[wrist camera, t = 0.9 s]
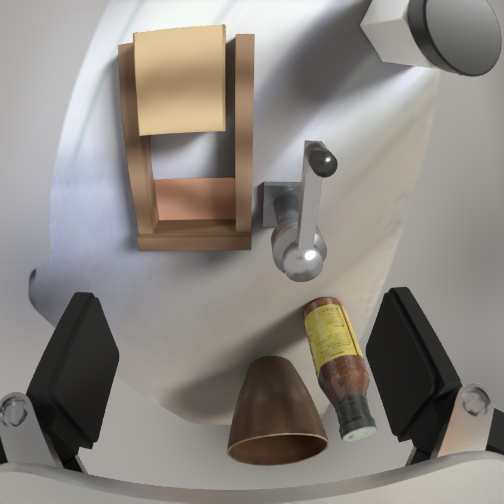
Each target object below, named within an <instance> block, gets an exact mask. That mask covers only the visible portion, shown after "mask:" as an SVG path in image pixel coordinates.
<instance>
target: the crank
mask: <svg viewBox="0 0 504 504" xmlns="http://www.w3.org/2000/svg"><path fill="white" fill-rule="evenodd" d="M337 165H338V164H337V160H336V158H335V157H334V156H333V154H332V153H331V152H330V151H329V150H328V149H327V148H326V146H325V145H324V144H323V142H322V141H306V140H305V145H304V158H303V171H302V182H301V194H300V205H299V215H298V225H297V235H296V242H294V243H292V244H290V245H289V246H288V247H287V248H286V249H285V250H284V252H283V255H282V261H283V266H284V271H285V274H286V275H287V277H288V278H290V279H291V280H293V281H296V282H306V281H310V280H312V279H314V278H315V277H317V276H318V275H319V274H320V272H321V270H322V268H323V260H322V257H321V255H320V252H319V249H318V248H317V246H316V245H315V244H314V240H315V233H316V226H317V218H318V210H319V202H320V194H321V185H322V177H329V176H331V175H333V174H334V173H335V171H336V169H337Z"/></svg>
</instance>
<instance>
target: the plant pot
mask: <svg viewBox="0 0 504 504" xmlns="http://www.w3.org/2000/svg"><path fill="white" fill-rule="evenodd" d="M328 445H329V442H328V438H327V435H326V433H325V429H324V427H323V424H322V421H321V418H320V416H319V413H318V411H317V409H316V406H315V404H314V402H313V400H312V398H311V396H310V394H309V392H308V390H307V388H306V386H305V384H304V382H303V381H302V379H301V377H300V376H299V374H298V372H297V371H296V369H295V368H294V366H293V365H292V363H291V362H290V361H289V360H287V359H285V358H282V357H276V356H272V357H264V358H261V359H259V360H257V361H255V362H254V363H253V364H252V365H251V366H250V368H249V371H248V373H247V375H246V378H245V380H244V383H243V385H242V388H241V391H240V394H239V397H238V401H237V404H236V408H235V412H234V416H233V420H232V425H231V430H230V436H229V442H228V448H227V454H228V456H229V457H230V458H231V459H233V460H235V461H237V462H240V463H245V464H250V465H260V466H273V465H285V464H291V463H297V462H301V461H304V460H307V459H310V458H313V457H315V456H317V455H319V454H320V453H322V452H324V451H325V450H326V449H327V448H328Z"/></svg>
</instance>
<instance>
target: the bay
mask: <svg viewBox="0 0 504 504" xmlns="http://www.w3.org/2000/svg"><path fill="white" fill-rule="evenodd" d="M118 54H119V77H120V93H121V106H122V117H123V128H124V137H125V146H126V154H127V162H128V170H129V177H130V184H131V190H132V197H133V203H134V209H135V215H136V220H137V226H138V231H139V235H138V237H137V243H138V248H139V251H201V250H251V205H252V146H253V89H254V34H236V58H235V178H188V179H163V180H154V182H153V173H152V164H151V155H150V144H149V135H143V136H139V131H138V120H137V107H136V92H135V74H134V44H133V43H128V44H122V45H118ZM154 184H155V190H154ZM155 192H156V198H155ZM156 200H157V206H156ZM235 201H236V219H235ZM157 208H158V213H157ZM158 215H159V220H158Z"/></svg>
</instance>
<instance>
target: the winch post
mask: <svg viewBox="0 0 504 504" xmlns="http://www.w3.org/2000/svg"><path fill="white" fill-rule="evenodd" d="M300 194H301V182H264V189H263V218H262V224H263V227H276V228H275V229H274V231H273V233H272V236H271V245H272V252H273V258H274V262H275V264H276V266H277V267H278V269H279V270H281V271H282V272H284V273H285V271H284V266H283V261H282V255H283V252H284V250H285V249H286V248H287V247H288V246H289V245H290V244H292V243H294V242H296V235H297V225H298V215H299V205H300ZM314 244H315V245H316V246H317V248H318V249H319V252H320V255H321V257H322V260H323V262H324V260H325V258H326V254H327V248H326V245H325V242H324V240H323V237H322V235H321V232H320V230H319V228H318V226H316V233H315V240H314Z"/></svg>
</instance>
